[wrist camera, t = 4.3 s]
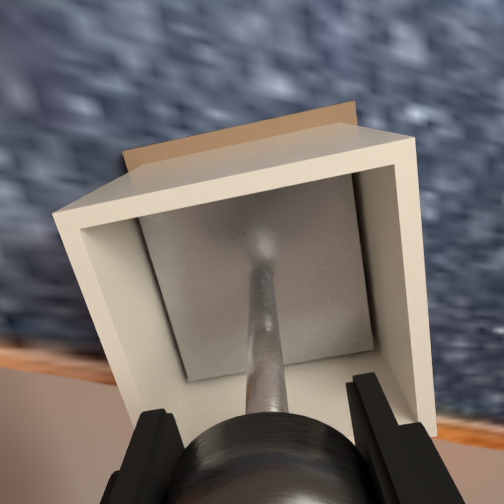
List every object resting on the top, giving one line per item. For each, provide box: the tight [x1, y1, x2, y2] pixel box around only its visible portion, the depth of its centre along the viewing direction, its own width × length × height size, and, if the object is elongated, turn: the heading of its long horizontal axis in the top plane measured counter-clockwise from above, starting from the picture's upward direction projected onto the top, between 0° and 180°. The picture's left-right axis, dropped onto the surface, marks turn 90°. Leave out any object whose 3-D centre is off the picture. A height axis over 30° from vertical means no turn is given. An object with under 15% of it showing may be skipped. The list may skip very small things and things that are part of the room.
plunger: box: [138, 173, 379, 504], centre depth 14 cm, size 10×10×15 cm
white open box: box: [52, 101, 437, 448], centre depth 22 cm, size 14×14×13 cm
